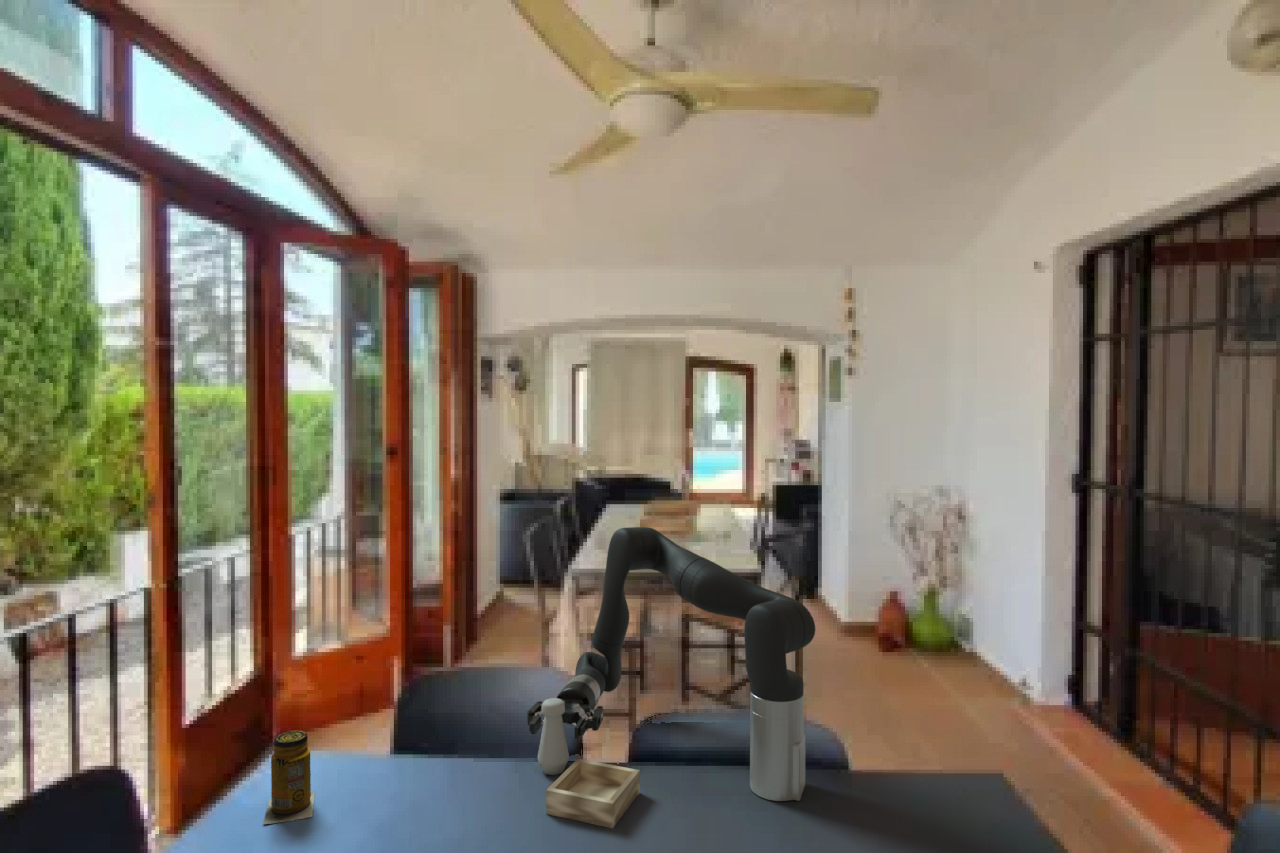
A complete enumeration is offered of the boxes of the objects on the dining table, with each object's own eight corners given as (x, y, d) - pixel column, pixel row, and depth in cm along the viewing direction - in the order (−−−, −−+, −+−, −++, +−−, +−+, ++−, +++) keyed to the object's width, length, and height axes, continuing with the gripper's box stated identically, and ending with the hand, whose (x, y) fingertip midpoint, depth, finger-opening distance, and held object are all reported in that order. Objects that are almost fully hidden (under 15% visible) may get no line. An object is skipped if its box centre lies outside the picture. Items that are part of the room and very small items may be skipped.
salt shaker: (563, 778, 138) (563, 708, 137) (533, 775, 139) (533, 705, 138) (572, 764, 143) (572, 695, 143) (543, 761, 144) (543, 693, 144)
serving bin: (639, 792, 133) (639, 770, 133) (612, 828, 121) (612, 803, 121) (577, 780, 137) (577, 758, 137) (546, 813, 126) (546, 790, 126)
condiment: (315, 793, 133) (314, 725, 132) (312, 817, 125) (311, 745, 124) (268, 800, 130) (267, 731, 130) (262, 826, 122) (261, 752, 122)
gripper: (545, 678, 159) (518, 708, 143) (611, 683, 156) (591, 714, 140) (545, 713, 159) (518, 748, 143) (611, 719, 156) (591, 754, 140)
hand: (554, 731), depth 141 cm, fingers open, 8 cm apart
